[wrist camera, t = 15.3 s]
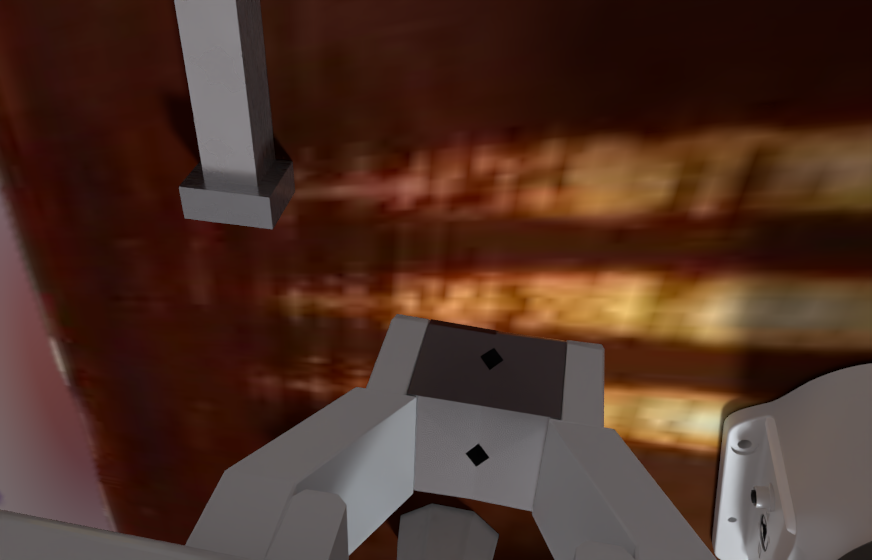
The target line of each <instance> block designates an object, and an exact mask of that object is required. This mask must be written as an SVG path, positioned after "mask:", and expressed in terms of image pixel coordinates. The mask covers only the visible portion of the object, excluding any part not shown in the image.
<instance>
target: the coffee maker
mask: <svg viewBox="0 0 872 560" xmlns="http://www.w3.org/2000/svg"><path fill="white" fill-rule="evenodd" d="M498 536H499V534H498V533H497V532H496V531H495V530H493V529H492V528H491V527H490V526H489V525H488V524H487V523H486V522H485V521H484V520H482V519H481V518H480V517H479V516H478V515H477V514H476V513H475V512H474V511H469V510H463V509H458V508H453V507H448V506H443V505H438V504H429V505H427V506H424V507H421V508H419V509H416V510H414V511H411V512H408V513H406V514H403V515H401V518H400V527H399V535H398V549H397V560H493V556H494V552H495V548H496V544H497V540H498Z"/></svg>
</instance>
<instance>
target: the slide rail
mask: <svg viewBox="0 0 872 560" xmlns="http://www.w3.org/2000/svg"><path fill="white" fill-rule="evenodd" d="M174 2H175V8H176V14H177V20H178V26H179V32H180V38H181V44H182V50H183V56H184V62H185V68H186V74H187V80H188V86H189V92H190V98H191V104H192V110H193V116H194V122H195V128H196V134H197V140H198V146H199V152H200V158H201V161H200V162H199V163H198V164H197V165H196V167H195V168H194V169H193V170H192V171H191V173H190V174H189V175H188V176H187V177H186V179H185V180H184V181H183V182H182V183H181V184H180V186H179V191H180V196H181V201H182V207H183V212H184V217H185V218H187V219H195V220H203V221H211V222H219V223H227V224H235V225H243V226H251V227H259V228H267V229H273V228H274V226H275V225H276V223H277V221H278V220H279V218H280V216H281V215H282V213H283V211H284V209H285V208H286V206H287V204H288V203H289V201H290V199H291V198H292V196H293V194H294V193H295V186H294V174H293V162H292V161H285V160H276V159H275V150H274V140H273V130H272V120H271V110H270V100H269V89H268V79H267V69H266V59H265V49H264V39H263V29H262V19H261V9H260V0H174Z"/></svg>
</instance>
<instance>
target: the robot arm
mask: <svg viewBox="0 0 872 560" xmlns="http://www.w3.org/2000/svg"><path fill="white" fill-rule="evenodd" d="M413 490H416V491H422V492H429V493H435V494H442V495H449V496H455V497H462V498H468V499H474V500H479V501H484V502H489V503H494V504H498V505H503V506H508V507H513V508H518V509H523V510H528V511H532V515H533V517H534V519H535V521H536V523H537V525H538V527H539V529H540V531H541V533H542V535H543V537H544V539H545V541H546V544H547V546H548V548H549V550H550V552H551V554H552V556H553V558H554V560H717V559H716V558H715V557H714V556H713V554H712V553H711V552H710V550H709V549H708V548H707V547H706V545H705V544H704V543H703V542H702V540H701V539H700V538H699V536H698V535H697V534H696V533H695V531H694V530H693V529H692V528H691V526H690V525H689V524H688V522H687V521H686V520H685V519H684V517H683V516H682V515H681V514H680V512H679V511H678V510H677V508H676V507H675V506H674V505H673V503H672V502H671V501H670V500H669V498H668V497H667V496H666V494H665V493H664V492H663V491H662V489H661V488H660V487H659V486H658V484H657V483H656V482H655V480H654V479H653V478H652V477H651V475H650V474H649V473H648V472H647V470H646V469H645V468H644V466H643V465H642V464H641V463H640V461H639V460H638V459H637V458H636V456H635V455H634V454H633V452H632V451H631V450H630V449H629V447H628V446H627V445H626V444H625V442H624V441H623V440H622V438H621V437H620V436H619V435H618V433H617V432H616V431H615V430H614V429H610V428H604V348H603V346H602V345H601V344H593V343H585V342H577V341H570V340H567V342H566V341H563V340H556V339H549V338H542V337H535V336H528V335H521V334H514V333H508V332H501V331H496V330H490V329H484V328H478V327H473V326H467V325H461V324H455V323H449V322H444V321H438V320H432V319H431V320H428V319H424V318H418V317H412V316H405V315H399V314H397V315H396V316H395V317H394V318H393V319H392V321H391V324H390V326H389V329H388V332H387V334H386V337H385V340H384V342H383V345H382V348H381V350H380V353H379V356H378V358H377V361H376V364H375V366H374V369H373V371H372V374H371V377H370V379H369V382H368V385H367V387H366V389H365V388H359V387H356V388H354V389H352V390H351V391H349V392H348V393H346V394H345V395H343V396H342V397H340V398H338V399H337V400H335V401H334V402H332V403H331V404H329V405H327V406H326V407H324V408H323V409H321V410H320V411H318V412H316V413H315V414H313V415H312V416H310V417H309V418H307V419H305V420H304V421H302V422H301V423H299V424H298V425H296V426H294V427H293V428H291V429H290V430H288V431H287V432H285V433H284V434H282V435H280V436H279V437H277V438H276V439H274V440H273V441H271V442H269V443H268V444H266V445H265V446H263V447H262V448H260V449H258V450H257V451H255V452H254V453H252V454H251V455H249V456H247V457H246V458H244V459H243V460H241V461H240V462H238V463H236V464H235V465H233V466H232V467H230V468H229V469H227V470H226V471H225V472H224V474H223V475H222V477H221V479H220V481H219V483H218V485H217V487H216V489H215V490H214V492H213V494H212V496H211V498H210V500H209V502H208V504H207V505H206V507H205V509H204V511H203V513H202V515H201V517H200V519H199V520H198V522H197V524H196V526H195V528H194V530H193V532H192V534H191V535H190V537H189V539H188V541H187V543H186V545H185V546H184V545H179V544H174V543H169V542H164V541H159V540H153V539H148V538H143V537H138V536H133V535H128V534H123V533H118V532H113V531H108V530H102V529H97V528H92V527H87V526H82V525H77V524H72V523H67V522H62V521H57V520H52V519H46V518H41V517H36V516H31V515H26V514H21V513H15V512H11V511H6V510H1V509H0V560H349V555H350V554H351V553H352V552H353V551H354V550H355V549H356V548H357V547H358V546H359V545H360V544H361V543H362V542H363V541H364V540H365V539H367V538H368V537H369V536H370V535H371V534H372V533H373V532H374V531H375V530H376V529H377V528H378V527H379V526H380V525H381V524H382V523H383V522H384V521H385V520H386V519H387V518H388V517H389V516H390V515H391V514H392V513H393V512H395V511H396V510H397V509H398V508H399V507H400V506H401V505H402V504H403V503H404V502H405V501H406V500H407V499H408V498H409V497H410V496H411V495H412V494H413ZM712 545H713V549H714V552H715V555H716V556H717V557H718V558H719V559H721V560H872V363H870V364H863V365H858V366H853V367H849V368H845V369H841V370H838V371H834V372H831V373H829V374H826V375H823V376H821V377H818V378H816V379H814V380H812V381H809V382H807V383H806V384H804V385H802V386H800V387H798V388H797V389H795V390H793V391H792V392H790V393H788V394H786V395H785V396H783V397H781V398H779V399H777V400H775V401H772V402H769V403H764V404H760V405H756V406H752V407H748V408H745V409H742V410H739V411H736V412H734V413H732V414H730V415H729V416H728V417H727V418H726V419H725V421H724V426H723V436H722V446H721V456H720V465H719V475H718V485H717V495H716V505H715V515H714V524H713V535H712Z"/></svg>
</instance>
